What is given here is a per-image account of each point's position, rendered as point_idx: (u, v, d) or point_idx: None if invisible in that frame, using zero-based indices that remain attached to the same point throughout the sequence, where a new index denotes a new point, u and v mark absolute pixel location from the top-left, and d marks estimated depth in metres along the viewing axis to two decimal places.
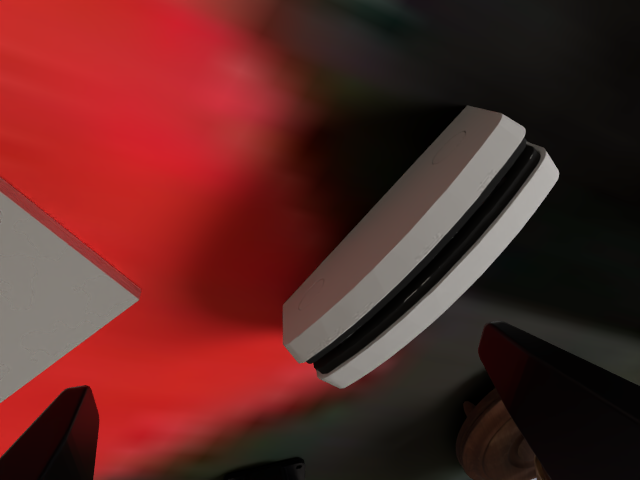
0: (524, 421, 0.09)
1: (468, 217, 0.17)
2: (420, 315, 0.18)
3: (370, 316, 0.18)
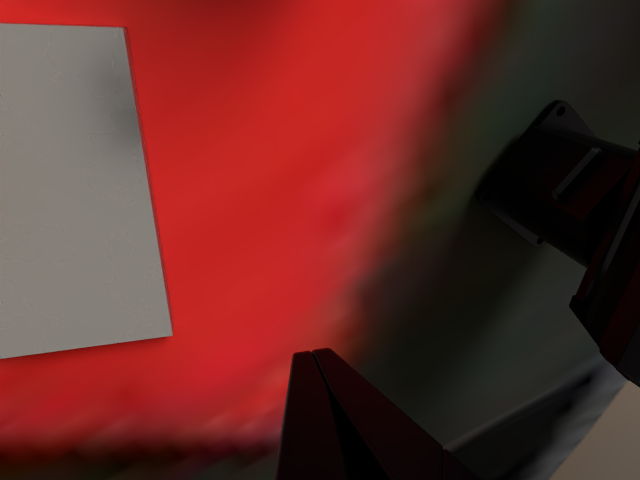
0: None
1: None
2: None
3: None
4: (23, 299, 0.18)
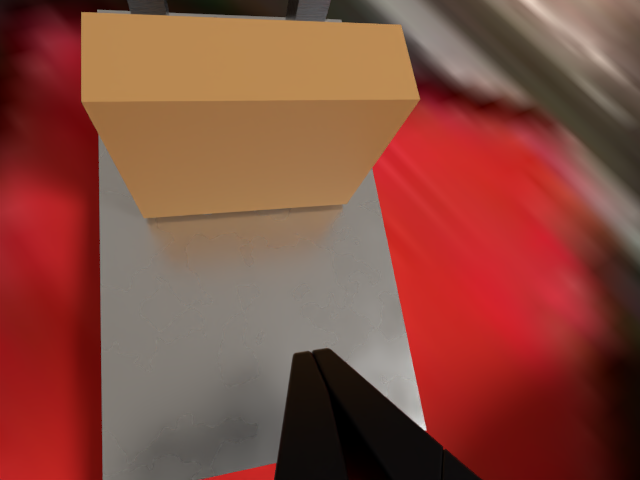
0: None
1: None
2: None
3: None
4: (177, 337, 0.19)
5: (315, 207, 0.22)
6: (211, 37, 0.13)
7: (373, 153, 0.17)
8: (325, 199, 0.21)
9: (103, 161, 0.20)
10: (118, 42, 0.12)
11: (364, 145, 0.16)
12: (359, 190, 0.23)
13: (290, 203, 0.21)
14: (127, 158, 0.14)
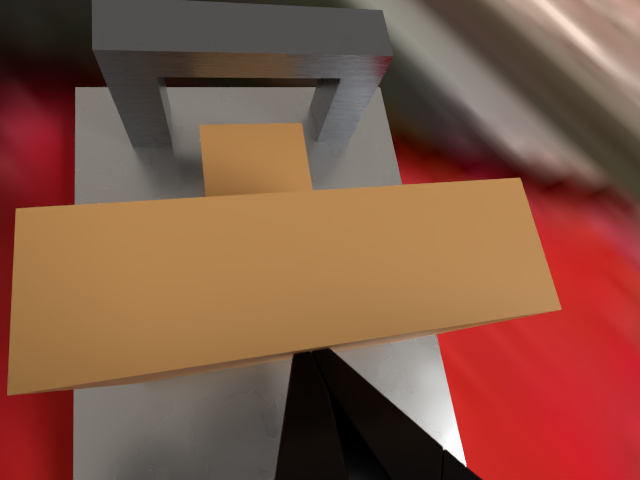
0: None
1: None
2: None
3: None
4: None
5: None
6: (235, 233, 0.08)
7: (457, 329, 0.12)
8: (372, 345, 0.16)
9: None
10: (79, 262, 0.07)
11: None
12: None
13: None
14: (102, 385, 0.09)
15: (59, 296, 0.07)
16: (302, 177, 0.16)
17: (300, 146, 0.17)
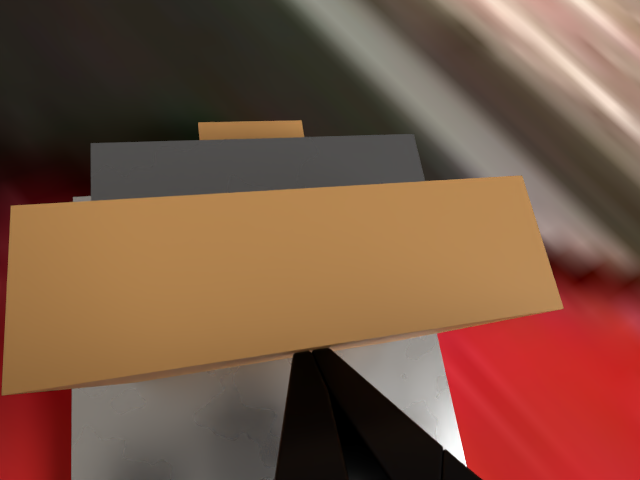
0: None
1: None
2: None
3: None
4: None
5: None
6: (234, 231, 0.08)
7: (458, 328, 0.12)
8: (372, 344, 0.16)
9: (78, 453, 0.14)
10: (74, 260, 0.07)
11: (450, 329, 0.11)
12: None
13: None
14: (99, 384, 0.09)
15: (54, 294, 0.07)
16: None
17: None
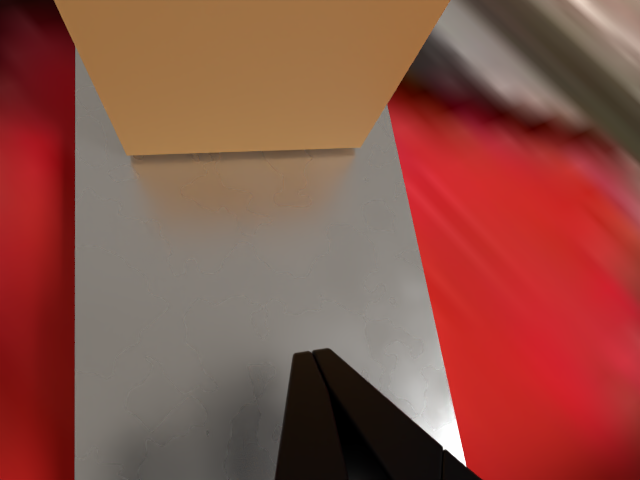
0: None
1: None
2: None
3: None
4: (172, 437, 0.15)
5: (343, 260, 0.18)
6: None
7: (398, 68, 0.14)
8: (336, 139, 0.18)
9: (81, 207, 0.16)
10: None
11: (388, 53, 0.13)
12: (395, 237, 0.19)
13: (296, 142, 0.18)
14: (99, 55, 0.12)
15: None
16: None
17: None
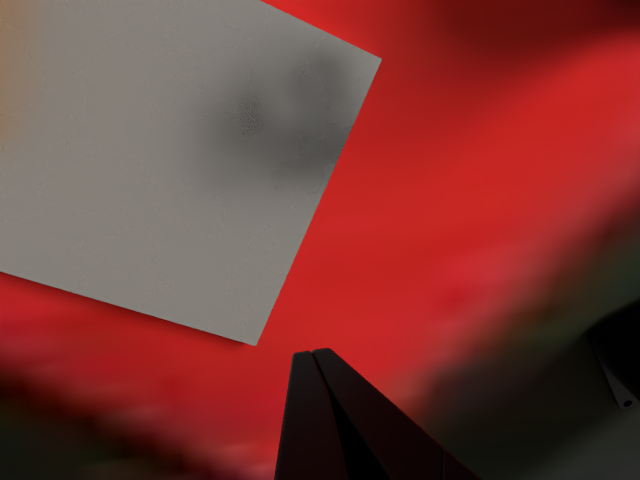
0: None
1: None
2: None
3: None
4: (151, 253, 0.18)
5: (37, 21, 0.14)
6: None
7: None
8: None
9: None
10: None
11: None
12: None
13: None
14: None
15: None
16: None
17: None
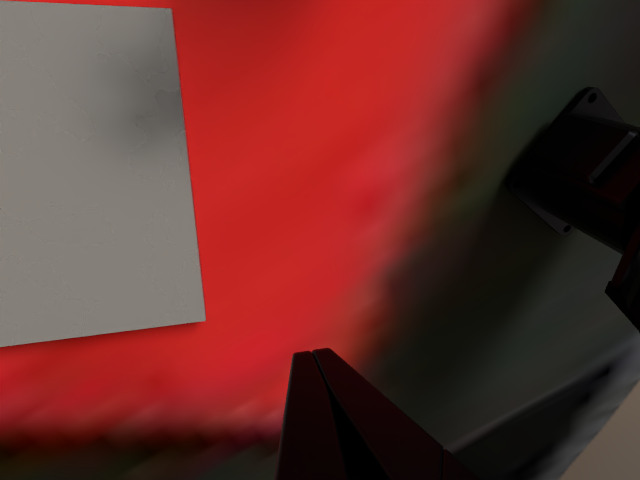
0: None
1: None
2: None
3: None
4: (62, 282, 0.19)
5: None
6: None
7: None
8: None
9: None
10: None
11: None
12: None
13: None
14: None
15: None
16: None
17: None
